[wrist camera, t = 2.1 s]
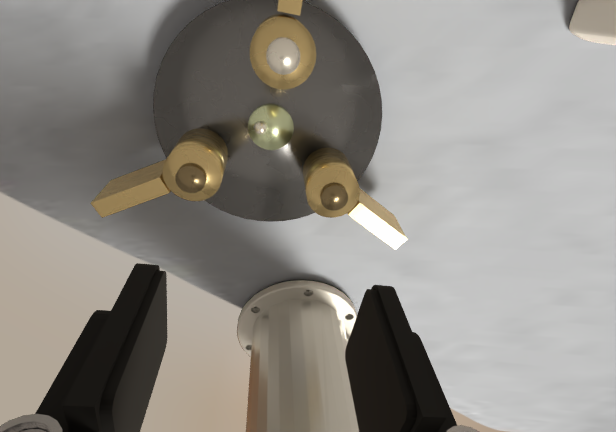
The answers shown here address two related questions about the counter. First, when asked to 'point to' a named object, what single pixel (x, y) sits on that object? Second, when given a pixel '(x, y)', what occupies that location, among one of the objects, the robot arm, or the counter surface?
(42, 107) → the counter surface
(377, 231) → the knob
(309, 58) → the knob
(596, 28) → the eye dropper bottle
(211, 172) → the knob
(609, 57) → the counter surface
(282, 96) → the base
